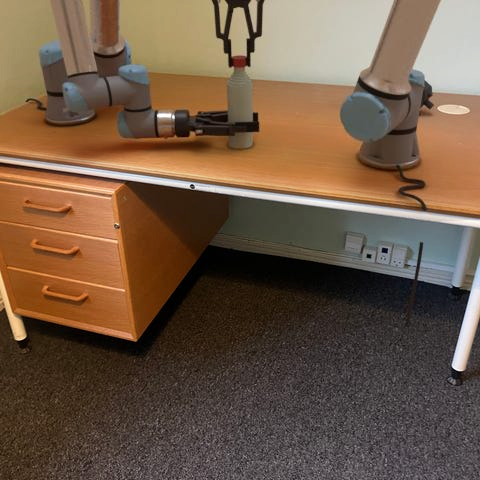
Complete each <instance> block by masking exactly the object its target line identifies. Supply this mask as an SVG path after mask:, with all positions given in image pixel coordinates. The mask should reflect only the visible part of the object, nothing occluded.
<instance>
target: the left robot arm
mask: <svg viewBox="0 0 480 480" xmlns="http://www.w3.org/2000/svg"><path fill="white" fill-rule="evenodd" d="M49 2H50V7H51V10H52V15H53V20H54V24H55V27H56V32H57V36H58V40H54V41H50V42H48V43H46V44H44V45H42V46H41V47H40V48H39V50H38V57H39V66H40V68H41V73H42V77H43V81H44V86H45V91H46V107H45V106H42V101H40V100H38V99H36V98H31V97H30V98H27V99H26V100H25V103H28V102H31V101H33V102H36V103H38V104H37V108H38V109H39V110H45V120H46V123H48V124H49V125H53V126H57V127H67V126H68V127H69V126H77V125H82V124H85V123H88V122H91V121H92V120H94V118H95V117H96V110H99V109H100V110H101V109H106V108H113V107H118V106H123V107H122V108H123V110H119V111H118V112H117V115H116V127H117V132H118V135H119V136H120V137H121V138H123V139H135V140H139V139H156V138H157V139H163V138H164V140H168V139H169V138H175V137H176V138H179V139H181V138H190V136H191V132H193V133H195V134H194V135H195V137H203V136H205V137H206V136H207V137H208V136H209V137H229V136H235V133H240V132H253V133H260V121H259V112H257V111H256V112H255V111H253V122H235V124H233V123H228V109H227V110H208V111H204V110H199V111H197V114H195V115H190V111H189V109H176V110H175V111H174V109H153V107H152V98H151V97H152V96H151V86H150V85H151V83H150V77H149V74H148V73H149V72H148V69H147V67H145V66H144V65H142V64H140V65H138V64H139V63H132V52H131V51H132V50H131V46H130V44H129V42H128V41H127V40H126V39H125V37H124V36H123V35H122V34H121V8H122V7H121V5H122V3H121V2H122V0H89V3H88V5H89V26H90V27H88V22H87V21H88V20H87V17H86V12H85V7H84V3H83V0H49ZM89 28H90V30H89Z"/></svg>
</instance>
